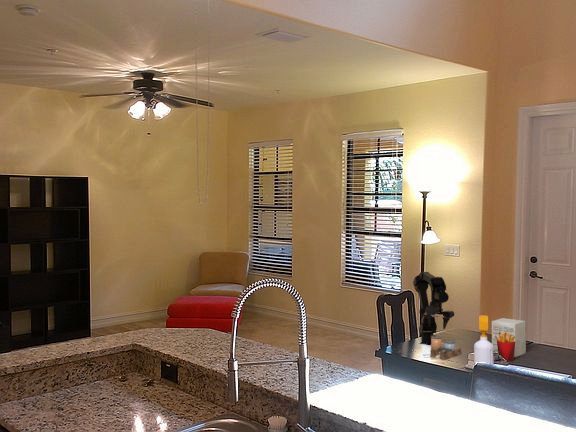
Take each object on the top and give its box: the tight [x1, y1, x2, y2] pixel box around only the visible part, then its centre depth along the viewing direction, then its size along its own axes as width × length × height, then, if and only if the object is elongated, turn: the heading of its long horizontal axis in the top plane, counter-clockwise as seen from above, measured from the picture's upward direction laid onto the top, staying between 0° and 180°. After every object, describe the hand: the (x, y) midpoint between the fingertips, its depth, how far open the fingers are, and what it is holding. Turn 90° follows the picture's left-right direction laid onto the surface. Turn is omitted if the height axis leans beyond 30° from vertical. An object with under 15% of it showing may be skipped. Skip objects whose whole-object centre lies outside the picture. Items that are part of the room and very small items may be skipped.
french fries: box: [495, 331, 515, 362], centre depth 295 cm, size 9×8×15 cm
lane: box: [429, 346, 462, 361], centre depth 307 cm, size 17×9×4 cm, turn 135°
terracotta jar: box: [430, 334, 443, 350], centre depth 321 cm, size 6×6×7 cm
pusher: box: [439, 346, 452, 354], centre depth 305 cm, size 7×6×4 cm
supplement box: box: [491, 317, 527, 358], centre depth 311 cm, size 13×13×18 cm
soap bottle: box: [473, 314, 495, 364], centre depth 286 cm, size 9×9×25 cm
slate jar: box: [443, 339, 456, 351], centre depth 310 cm, size 6×6×7 cm
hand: (436, 327), depth 321 cm, fingers open, 9 cm apart
